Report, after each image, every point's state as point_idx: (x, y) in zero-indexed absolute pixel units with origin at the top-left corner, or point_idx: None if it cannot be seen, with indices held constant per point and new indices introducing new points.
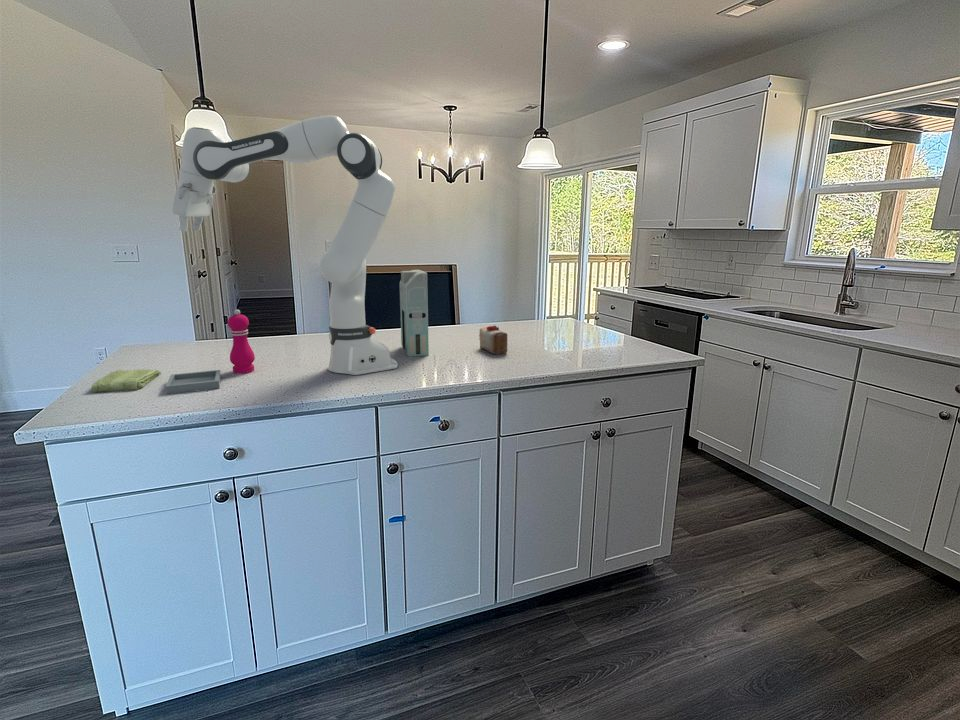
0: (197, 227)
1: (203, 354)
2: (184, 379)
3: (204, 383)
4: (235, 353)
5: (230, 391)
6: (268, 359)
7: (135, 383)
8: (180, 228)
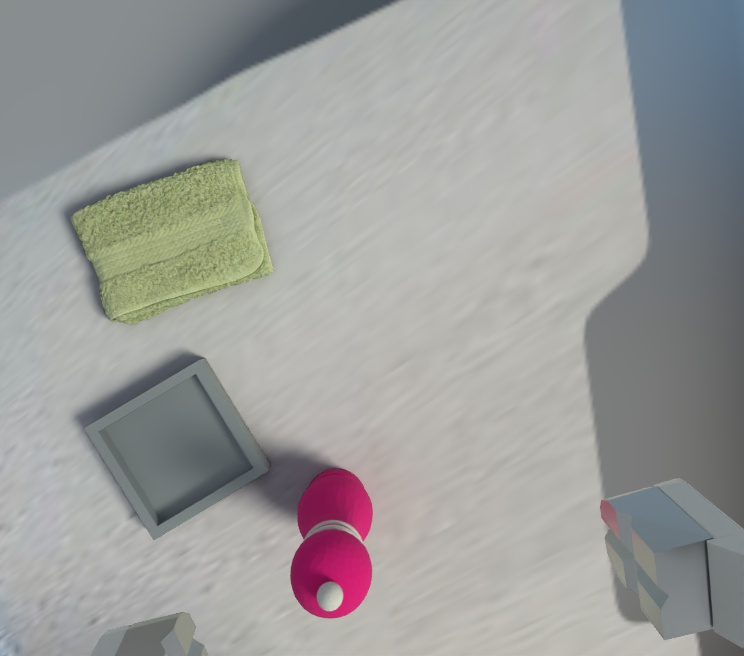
0: (639, 585)
1: (519, 242)
2: (202, 399)
3: (136, 508)
4: (301, 520)
5: (140, 576)
6: (482, 495)
7: (109, 317)
8: (100, 652)
